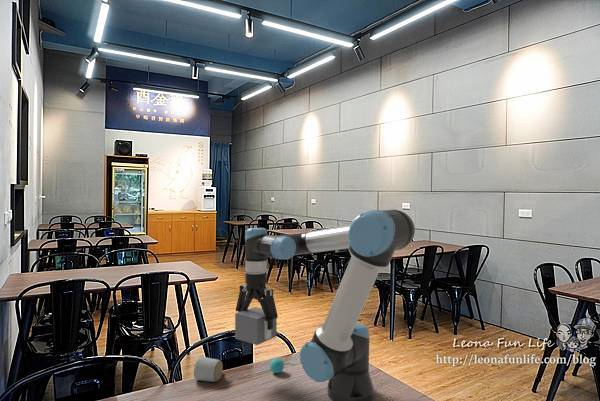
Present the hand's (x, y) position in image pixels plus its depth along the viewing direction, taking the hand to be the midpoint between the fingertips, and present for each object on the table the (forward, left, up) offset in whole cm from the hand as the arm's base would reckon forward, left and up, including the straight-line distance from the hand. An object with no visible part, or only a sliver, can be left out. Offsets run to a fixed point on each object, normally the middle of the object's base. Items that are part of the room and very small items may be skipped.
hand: (256, 335), depth 140 cm
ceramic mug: (+13, +9, -16) cm, 23 cm away
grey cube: (0, 0, -1) cm, 1 cm away
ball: (-3, -9, -13) cm, 16 cm away
